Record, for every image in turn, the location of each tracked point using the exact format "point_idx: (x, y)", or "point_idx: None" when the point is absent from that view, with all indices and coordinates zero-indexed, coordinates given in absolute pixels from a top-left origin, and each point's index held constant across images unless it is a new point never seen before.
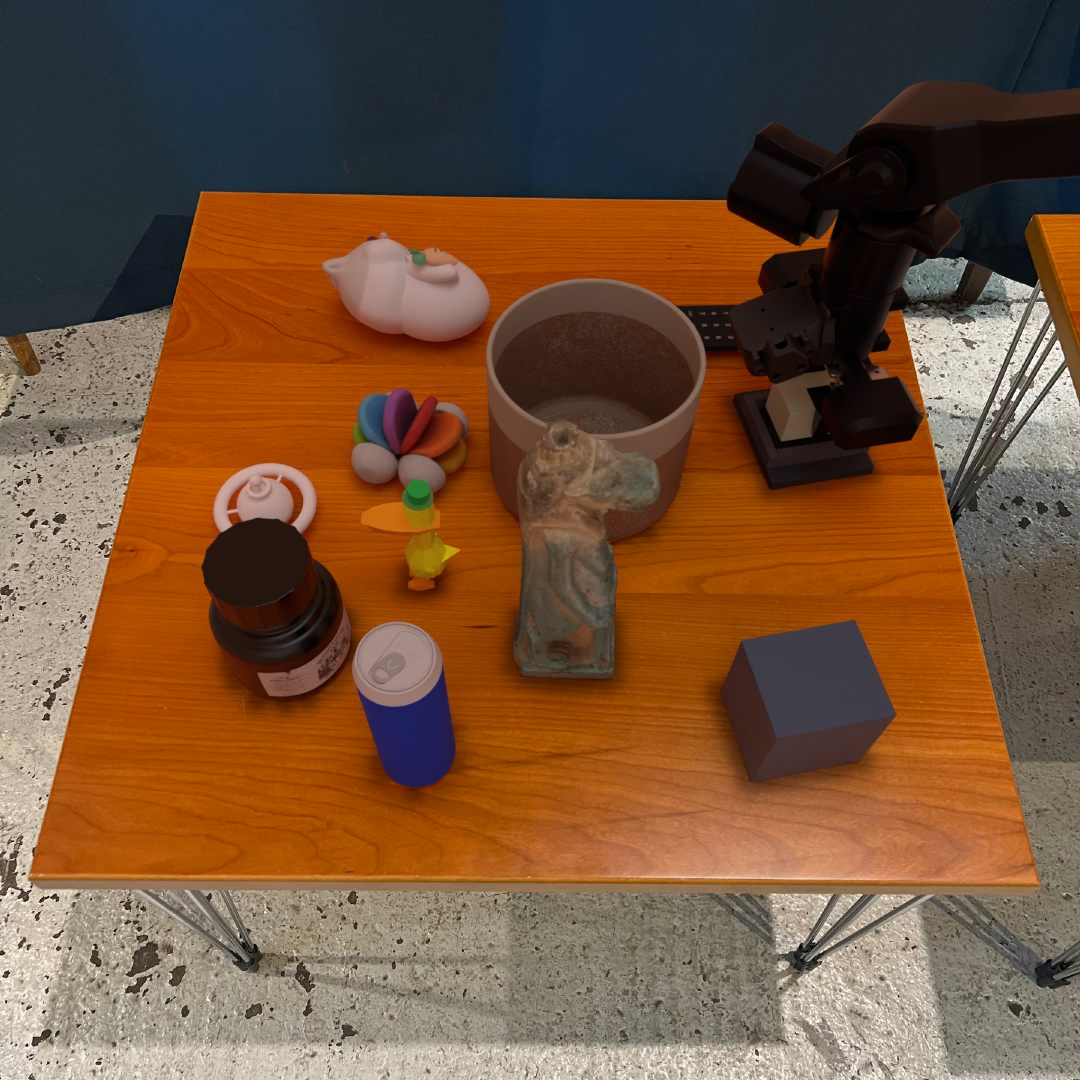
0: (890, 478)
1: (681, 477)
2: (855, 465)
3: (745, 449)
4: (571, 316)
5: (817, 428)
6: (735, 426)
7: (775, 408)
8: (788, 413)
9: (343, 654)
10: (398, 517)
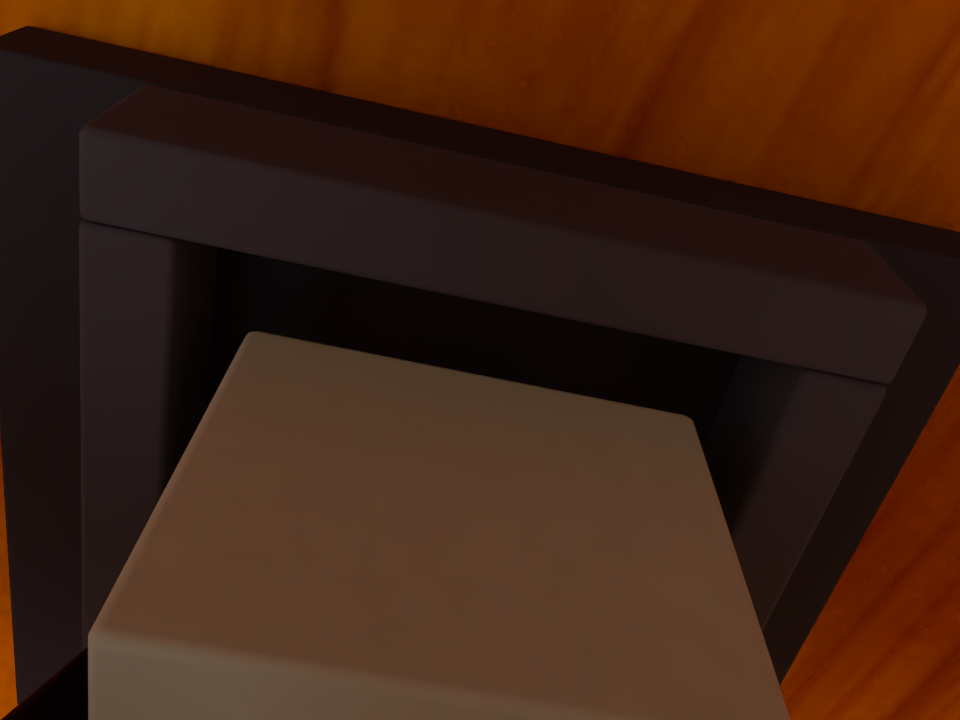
0: (5, 704)
1: None
2: (43, 635)
3: (490, 69)
4: None
5: (28, 700)
6: (738, 120)
7: (511, 486)
8: (163, 606)
9: None
10: None
